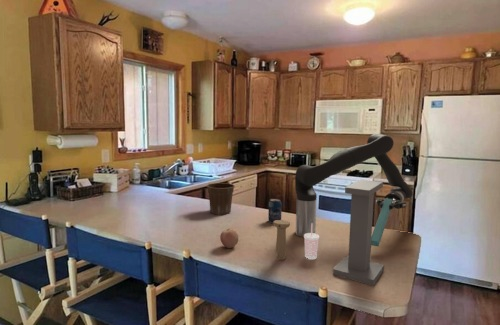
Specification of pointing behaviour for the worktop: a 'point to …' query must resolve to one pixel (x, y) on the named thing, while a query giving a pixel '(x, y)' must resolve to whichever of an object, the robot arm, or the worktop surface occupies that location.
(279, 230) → the handle
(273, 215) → the soda can
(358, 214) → the gray stand
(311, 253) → the beverage cup
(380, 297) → the worktop surface
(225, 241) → the apple
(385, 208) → the teal bar
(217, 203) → the plant pot
